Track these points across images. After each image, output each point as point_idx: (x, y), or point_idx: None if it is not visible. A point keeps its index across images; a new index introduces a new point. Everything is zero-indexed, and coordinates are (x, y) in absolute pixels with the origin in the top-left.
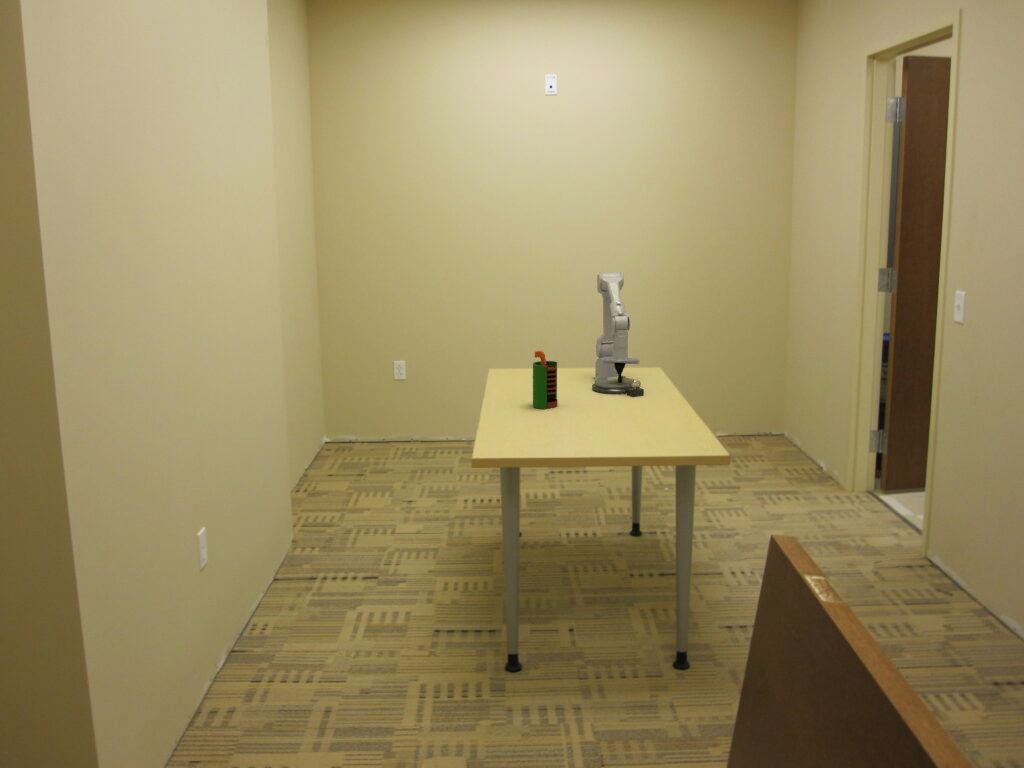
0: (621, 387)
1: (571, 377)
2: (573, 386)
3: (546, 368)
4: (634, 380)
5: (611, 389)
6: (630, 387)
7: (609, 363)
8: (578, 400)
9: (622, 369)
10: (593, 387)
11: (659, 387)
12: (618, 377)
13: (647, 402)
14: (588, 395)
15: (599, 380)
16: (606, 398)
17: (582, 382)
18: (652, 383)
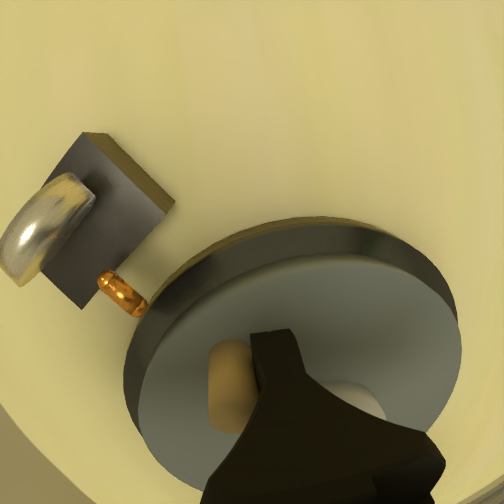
0: (238, 283)
1: (456, 470)
2: (497, 365)
3: None
4: (30, 232)
5: None
6: (160, 339)
7: (497, 486)
8: (485, 17)
9: (247, 448)
10: (455, 310)
11: (57, 443)
12: (297, 357)
13: (5, 12)
14: (469, 156)
15: (425, 407)
16: (340, 51)
17: (446, 439)
18: (126, 496)
